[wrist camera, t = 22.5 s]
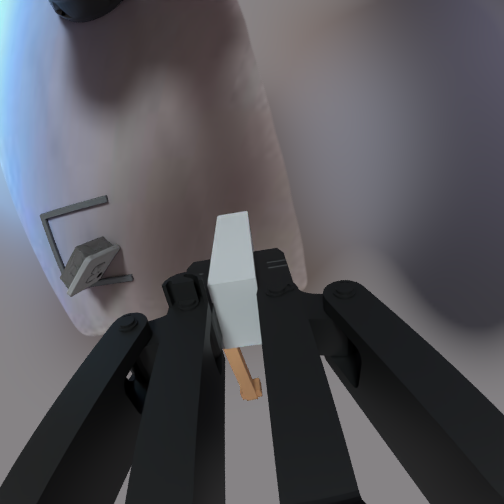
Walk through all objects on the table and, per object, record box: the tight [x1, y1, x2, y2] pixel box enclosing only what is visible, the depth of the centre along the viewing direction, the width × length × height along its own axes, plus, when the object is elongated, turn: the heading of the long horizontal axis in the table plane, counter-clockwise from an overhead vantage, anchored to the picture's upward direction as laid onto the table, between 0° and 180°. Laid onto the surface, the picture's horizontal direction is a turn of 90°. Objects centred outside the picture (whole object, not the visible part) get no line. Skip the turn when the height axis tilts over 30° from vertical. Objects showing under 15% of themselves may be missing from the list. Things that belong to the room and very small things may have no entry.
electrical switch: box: [60, 237, 120, 297], centre depth 47 cm, size 9×5×9 cm, turn 138°
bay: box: [40, 195, 133, 287], centre depth 50 cm, size 16×15×1 cm
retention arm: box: [222, 340, 262, 401], centre depth 43 cm, size 17×4×4 cm, turn 14°
